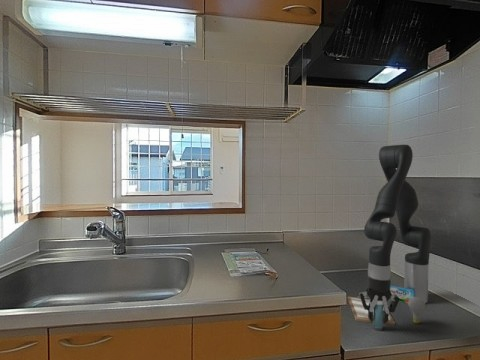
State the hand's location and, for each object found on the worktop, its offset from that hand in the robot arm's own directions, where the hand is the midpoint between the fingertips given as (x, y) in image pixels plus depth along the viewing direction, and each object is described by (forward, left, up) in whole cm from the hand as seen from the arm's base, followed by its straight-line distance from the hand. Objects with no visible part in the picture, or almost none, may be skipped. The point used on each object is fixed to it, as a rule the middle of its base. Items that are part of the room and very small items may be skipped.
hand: (378, 321), depth 106 cm
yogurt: (-30, -6, -3) cm, 30 cm away
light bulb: (-16, +7, -3) cm, 17 cm away
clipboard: (-11, -9, -3) cm, 14 cm away
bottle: (0, 0, -3) cm, 3 cm away
